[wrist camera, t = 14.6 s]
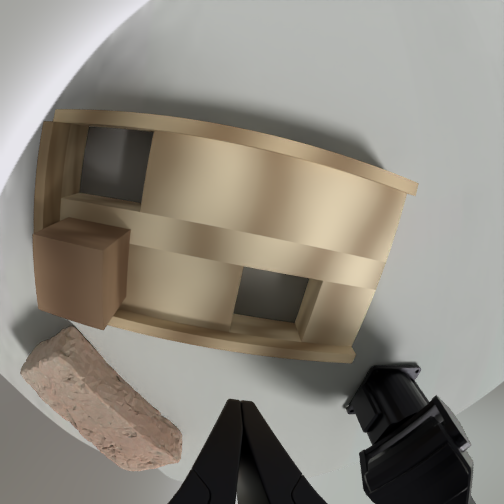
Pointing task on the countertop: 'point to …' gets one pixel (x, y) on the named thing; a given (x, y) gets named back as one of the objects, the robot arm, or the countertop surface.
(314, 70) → the countertop surface
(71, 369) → the brick
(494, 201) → the countertop surface
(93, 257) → the walnut block
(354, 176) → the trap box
